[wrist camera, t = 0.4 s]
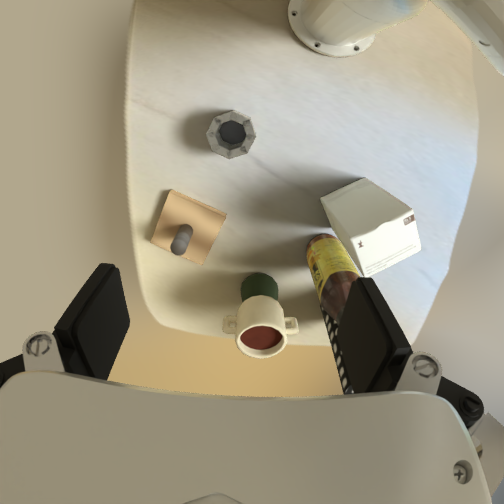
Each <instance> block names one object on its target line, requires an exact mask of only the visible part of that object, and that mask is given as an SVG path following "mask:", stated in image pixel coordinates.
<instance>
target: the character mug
mask: <svg viewBox="0 0 504 504" xmlns="http://www.w3.org/2000/svg"><path fill="white" fill-rule="evenodd" d="M241 297H242V302H243V303H242V304H241V306H240V307H239V309H238V313H237V316H226V317H225V318H224V320H223V332H224V333H227V334H236V336H235V341H236V344H237V347H238V349H239V350H240V351H241V352H242V353H243V354H245V355H247V356H250V357H254V358H267V357H272V356H274V355H276V354H278V353H279V352H280V351H281V350H283V349H284V347H285V345H286V343H287V336H286V335H291V334H297V333H298V332H299V328H298V322H297V319H296V318H295V317H284V313H283V309H282V307H281V306H280V304H279V303H278V286H277V283H276V282H275V280H274V279H273V278H272V277H270V276H268V275H266V274H254V275H252V276H249V277H248V278H247V279H246V280H245V281H244V282H243V283H242V286H241ZM230 323H236V327H230ZM285 323H291V325H292V328H285Z"/></svg>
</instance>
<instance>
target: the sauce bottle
mask: <svg viewBox="0 0 504 504" xmlns="http://www.w3.org/2000/svg"><path fill="white" fill-rule="evenodd" d="M306 255H307V262H308V265H309V268H310V271H311V275H312V278H313V281H314V284H315V288H316V291H317V294H318V297H319V300H320V303H321V306H322V308H323V309H324V310H325V311H326V312H327V313H328V314H329V315H330V316H331V317H332V318H333V319H334V320H335V321H336V322H337V325H338V326H339V323H340V320H341V317H342V314H343V311H344V308H345V304H346V301H347V298H348V294H349V291H350V288H351V284H352V282H353V281H356V279H357V278H358V277H360V276H359V274H358V272H357V270H356V268H355V266H354V264H353V262H352V261H351V259H350V257H349V255H348V253H347V251H346V250H345V248H344V246H343V245H342V243H341V242H340V241H339V240H338V239H337V238H336V237H334V236H332V235H329V234H323V235H319V236H317V237H315V238H313V239H312V240H311V241H310V243H309V244H308V246H307V254H306Z"/></svg>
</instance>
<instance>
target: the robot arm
mask: <svg viewBox="0 0 504 504" xmlns="http://www.w3.org/2000/svg"><path fill="white" fill-rule="evenodd" d="M428 1H429V0H290V2H289V5H288V20H289V23H290V26H291V28H292V30H293V31H294V33H295V35H296V36H297V37H298V38H299V39H300V40H301V41H302V42H303V43H304V44H305V45H306V46H308V47H309V48H311V49H312V50H314V51H316V52H318V53H321V54H323V55H327V56H331V57H350V56H353V55H357V54H359V53H361V52H363V51H364V50H366V49H367V48H368V47H369V46H370V45H371V44H372V43H373V41H374V39H375V37H376V33H378V32H381V31H383V30H385V29H388V28H390V27H392V26H395V25H397V24H400V23H402V22H405V21H407V20H409V19H412V18H413V17H415V16H417V15H418V14H420V13H421V12H422V11H423V9H424V8H425V7H426V5H427V3H428ZM430 1H431V2H432V3H433V4H434V5H435V6H436V7H437V8H439V9H441V10H442V11H443V12H444V13H445V14H446V15H447V16H448V17H449V18H450V19H451V20H452V21H453V22H454V23H455V24H456V25H457V26H458V27H459V28H460V29H461V30H462V31H463V32H464V34H465V35H466V36H467V37H468V38H469V39H470V40H471V41H472V43H473V44H474V45H475V46H476V47H477V48H478V49H479V50H480V52H481V53H482V54H483V55H484V56H485V58H486V59H487V60H488V61H489V62H490V63H491V65H492V66H493V67H494V68H495V69H496V70H497V71H498V72H499V73H500V74H501V75H502V76H504V0H430ZM292 14H295V16H293V15H292ZM315 44H317V45H318V47H315ZM354 48H355V49H356V51H355V50H354ZM129 325H130V318H129V314H128V310H127V305H126V301H125V296H124V291H123V287H122V282H121V277H120V272H119V269H118V268H116V267H115V265H114V264H107V263H101V264H99V266H98V267H97V268H96V269H95V271H94V272H93V273H92V275H91V276H90V277H89V279H88V280H87V281H86V283H85V284H84V285H83V287H82V288H81V290H80V291H79V292H78V294H77V295H76V297H75V298H74V299H73V301H72V302H71V304H70V305H69V307H68V308H67V309H66V311H65V312H64V314H63V315H62V317H61V318H60V320H59V321H58V323H57V324H56V326H55V327H54V329H55V330H54V331H53V333H52V334H51V333H49V332H46V331H40V332H36V333H34V334H32V335H31V336H29V337H28V338H27V339H26V341H25V342H24V344H23V350H22V351H23V354H21V355H18V356H16V357H13V358H11V359H9V360H7V361H4V362H2V363H0V504H492V501H491V497H492V495H493V493H494V492H495V490H496V489H497V487H498V486H499V484H500V482H501V481H502V479H503V477H504V426H503V425H501V424H500V423H499V422H498V421H497V420H496V419H495V418H494V417H493V416H491V414H489V413H487V414H486V415H485V414H484V407H483V403H482V401H481V399H480V398H479V397H478V396H477V395H476V394H474V393H473V392H471V391H469V390H467V389H465V388H463V387H461V386H459V385H457V384H456V383H454V382H452V381H450V380H448V379H446V378H444V377H442V376H441V375H442V367H441V364H440V363H439V361H438V360H437V359H436V358H435V357H434V356H432V355H431V354H428V353H426V352H415V353H413V351H412V349H411V346H410V344H409V342H408V340H407V339H406V337H405V335H404V333H403V331H402V329H401V327H400V326H399V324H398V322H397V320H396V318H395V317H394V315H393V313H392V311H391V309H390V308H389V306H388V304H387V302H386V301H385V299H384V297H383V296H382V294H381V292H380V290H379V289H378V287H377V285H376V284H375V282H374V280H373V279H372V278H369V277H358V278H357V279H356V281H353V282H352V284H351V288H350V291H349V294H348V298H347V301H346V304H345V308H344V311H343V314H342V317H341V320H340V323H339V326H338V329H337V339H338V342H339V346H340V349H341V352H342V355H343V359H344V362H345V365H346V368H347V372H348V375H349V379H350V382H351V385H352V389H353V392H354V394H346V395H332V396H311V397H244V396H223V395H208V394H197V393H186V392H177V391H168V390H161V389H154V388H147V387H141V386H135V385H129V384H123V383H118V382H112V381H107V379H108V376H109V374H110V371H111V369H112V366H113V364H114V361H115V359H116V357H117V354H118V352H119V349H120V347H121V345H122V342H123V340H124V337H125V335H126V333H127V330H128V328H129Z"/></svg>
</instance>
